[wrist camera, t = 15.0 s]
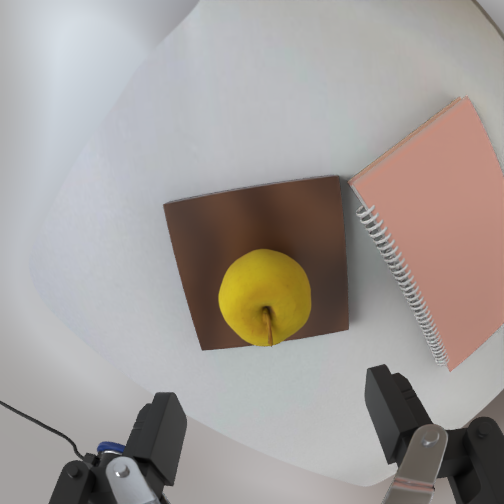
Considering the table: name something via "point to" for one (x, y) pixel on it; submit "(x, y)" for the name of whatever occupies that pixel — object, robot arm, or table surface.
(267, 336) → the apple
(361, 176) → the notebook
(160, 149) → the table surface
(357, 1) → the table surface
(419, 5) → the table surface
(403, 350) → the table surface
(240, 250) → the cutting board
